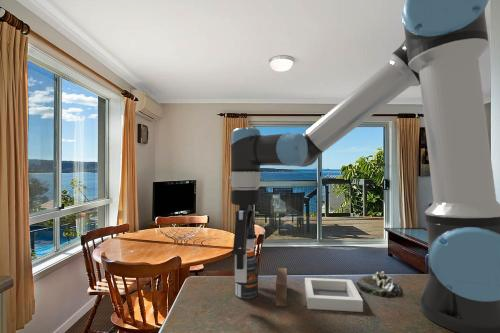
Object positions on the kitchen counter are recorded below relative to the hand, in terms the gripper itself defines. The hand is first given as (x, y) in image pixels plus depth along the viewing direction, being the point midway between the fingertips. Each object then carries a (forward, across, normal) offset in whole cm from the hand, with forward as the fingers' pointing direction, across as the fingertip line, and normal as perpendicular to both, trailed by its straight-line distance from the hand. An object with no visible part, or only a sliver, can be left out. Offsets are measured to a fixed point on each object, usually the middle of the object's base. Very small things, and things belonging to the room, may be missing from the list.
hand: (245, 271), depth 71 cm
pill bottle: (+6, 0, 0) cm, 6 cm away
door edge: (+6, 0, +9) cm, 11 cm away
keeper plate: (+5, 0, +21) cm, 22 cm away
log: (+6, -8, +35) cm, 36 cm away
